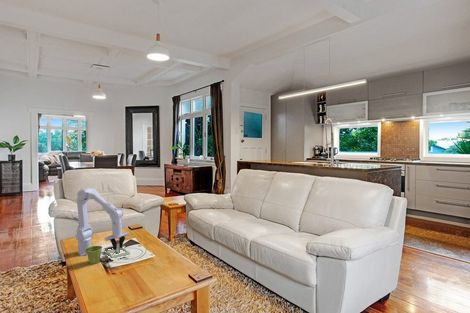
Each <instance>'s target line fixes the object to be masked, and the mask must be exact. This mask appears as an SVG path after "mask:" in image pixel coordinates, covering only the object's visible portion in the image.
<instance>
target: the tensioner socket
mask: <svg viewBox="0 0 470 313" xmlns="http://www.w3.org/2000/svg"><path fill="white" fill-rule="evenodd" d="M112 248H113V245H111V246H107V247H104V249H103V250H104V252H105V251H110V250H108V249H111V250H114V248H113V249H112Z"/></svg>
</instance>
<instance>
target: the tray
mask: <svg viewBox="0 0 470 313" xmlns="http://www.w3.org/2000/svg"><path fill="white" fill-rule="evenodd" d="M120 250H123V251H125V253H121V254H118V255H114V256H113V255H112V254H110V253H113V252H115V250H110V251H106V254H107V255H108V256H110V257H111V258H117V257H121V256H126V255H130V254H131V252H130V250H128V249H127V248H126V249H125V248H124V247H122V248H120ZM130 256H131V255H130Z"/></svg>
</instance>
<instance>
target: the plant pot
mask: <svg viewBox="0 0 470 313" xmlns="http://www.w3.org/2000/svg"><path fill="white" fill-rule="evenodd" d="M102 249H103V246H102V245H91V247H89V248H87V249H86V250H85V251H86V253H87V260H88V264H90V265H94V264H98V263H100V262H101V255H102V253H101V252H102Z"/></svg>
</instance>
